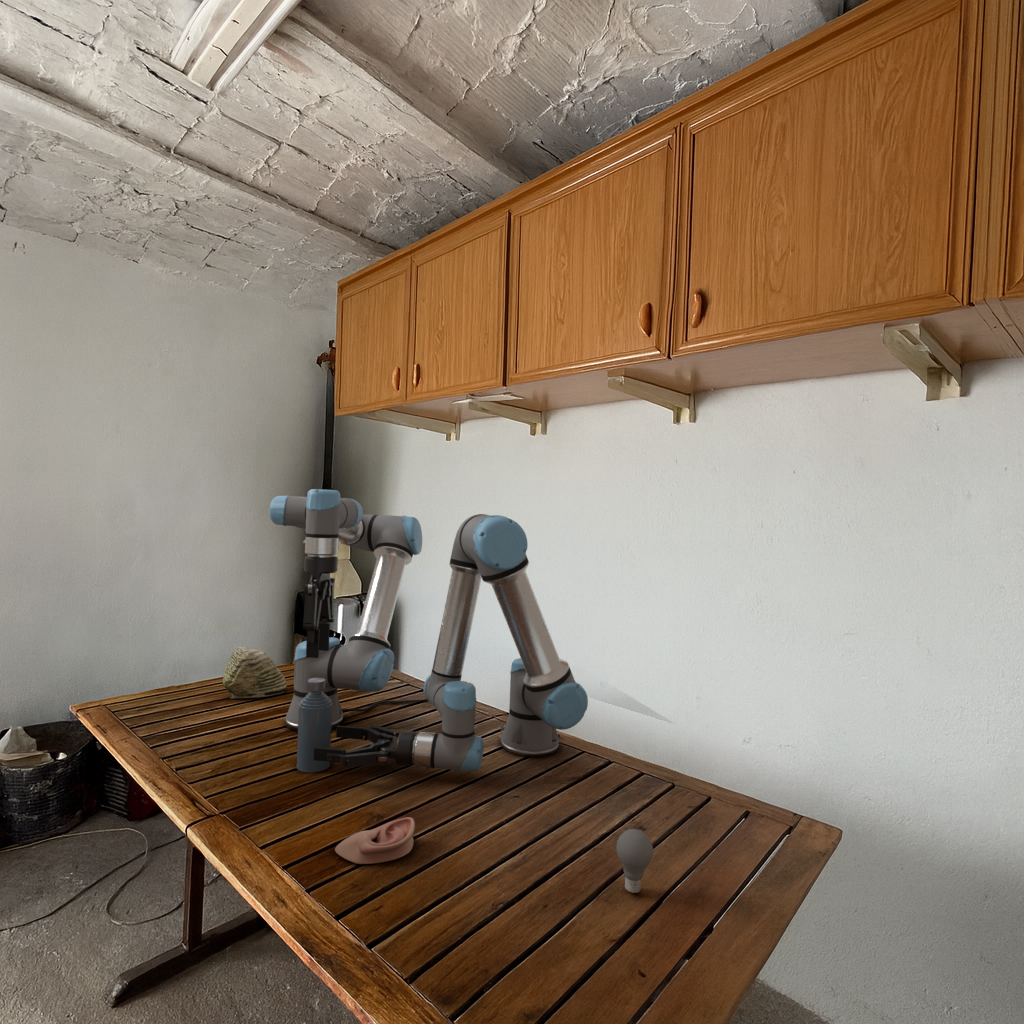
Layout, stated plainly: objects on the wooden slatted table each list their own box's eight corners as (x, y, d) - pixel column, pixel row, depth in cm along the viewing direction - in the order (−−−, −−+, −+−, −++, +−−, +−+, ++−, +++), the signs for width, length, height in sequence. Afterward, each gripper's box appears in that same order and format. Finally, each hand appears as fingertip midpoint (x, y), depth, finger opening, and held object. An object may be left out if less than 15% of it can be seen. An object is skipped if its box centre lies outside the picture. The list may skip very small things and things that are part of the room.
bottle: (332, 769, 147) (335, 684, 147) (298, 774, 144) (301, 687, 143) (327, 757, 154) (330, 676, 153) (294, 761, 151) (297, 678, 150)
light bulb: (610, 879, 108) (613, 822, 108) (644, 879, 109) (647, 822, 109) (619, 902, 102) (622, 840, 102) (655, 901, 103) (658, 840, 103)
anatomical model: (327, 836, 111) (356, 806, 122) (326, 858, 111) (355, 826, 122) (398, 848, 108) (421, 815, 119) (397, 871, 108) (420, 836, 119)
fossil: (218, 695, 195) (220, 647, 195) (278, 685, 208) (279, 640, 207) (228, 703, 189) (230, 653, 188) (289, 692, 201) (290, 645, 201)
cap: (326, 690, 147) (326, 681, 147) (308, 692, 146) (308, 683, 146) (323, 685, 151) (324, 677, 151) (306, 687, 149) (306, 678, 149)
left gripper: (320, 551, 158) (316, 643, 158) (289, 558, 138) (285, 663, 139) (349, 552, 157) (346, 645, 158) (322, 559, 138) (318, 665, 139)
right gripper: (400, 789, 133) (303, 781, 135) (427, 744, 158) (344, 738, 160) (401, 754, 133) (304, 746, 135) (428, 714, 158) (345, 708, 160)
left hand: (317, 653), depth 148 cm, fingers open, 6 cm apart
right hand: (326, 742), depth 147 cm, fingers open, 13 cm apart
